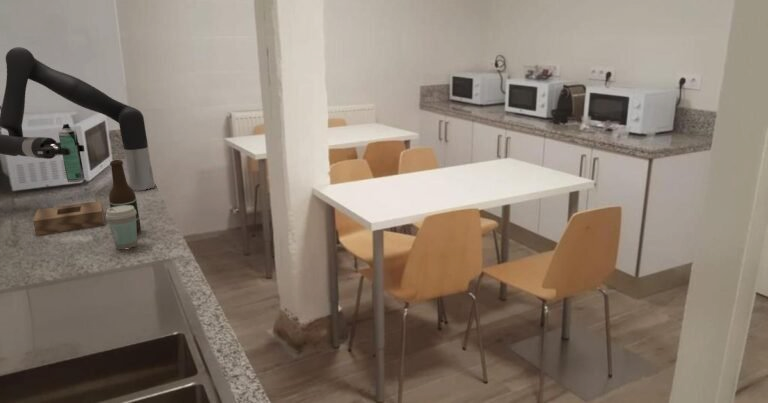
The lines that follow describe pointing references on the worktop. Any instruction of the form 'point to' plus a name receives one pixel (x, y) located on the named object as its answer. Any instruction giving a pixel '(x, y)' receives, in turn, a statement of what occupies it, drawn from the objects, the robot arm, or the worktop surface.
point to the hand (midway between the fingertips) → (76, 150)
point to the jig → (68, 217)
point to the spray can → (71, 154)
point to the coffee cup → (123, 225)
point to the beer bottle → (122, 190)
